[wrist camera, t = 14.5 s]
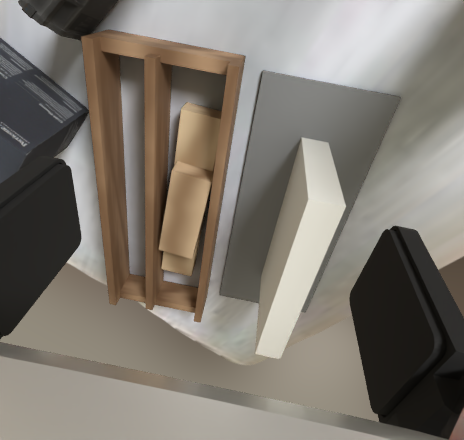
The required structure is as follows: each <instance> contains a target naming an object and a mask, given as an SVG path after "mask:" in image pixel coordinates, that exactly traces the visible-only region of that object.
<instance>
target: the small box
mask: <svg viewBox="0 0 464 440" xmlns="http://www.w3.org/2000/svg"><path fill="white" fill-rule="evenodd" d="M88 113H89V110H88V109H87V108H86V107H85V106H83V105H82V104H81V103H80V102H78V101H77V100H76V99H75V98H74V97H72V96H71V95H70V94H69V93H67V92H66V91H65V90H64V89H62V88H61V87H60V86H59V85H58V84H56V83H55V82H54V81H53V80H51V79H50V78H49V77H48V76H46V75H45V74H44V73H43V72H42V71H40V70H39V69H38V68H37V67H35V66H34V65H33V64H32V63H31V62H29V61H28V60H27V59H26V58H24V57H23V56H22V55H21V54H19V53H18V52H17V51H16V50H14V49H13V48H12V47H11V46H10V45H8V44H7V43H6V42H5V41H3V40H2V39H1V38H0V183H2V182H3V181H5V180H6V179H8V178H9V177H10V176H12V175H13V174H15V173H16V172H18V171H19V170H20V169H22V168H23V167H25V166H26V165H27V164H29V163H30V162H32V161H33V160H35V159H36V158H37V157H39V156H48V157H55V156H56V155H57V154H59V153H60V152H61V151H62V150H64V149H65V148H67V146H68V145H69V143H70V142H71V140H72V139H73V137H74V135H75V134H76V132H77V131H78V129H79V127H80V126H81V124H82V123H83V121H84V119H85V118H86V116H87V114H88Z"/></svg>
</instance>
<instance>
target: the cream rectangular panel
mask: <svg viewBox="0 0 464 440" xmlns="http://www.w3.org/2000/svg"><path fill="white" fill-rule="evenodd" d="M345 208H346V205H345V201H344V197H343V194H342V190H341V187H340V183H339V179H338V176H337V172H336V168H335V165H334V161H333V157H332V154H331V150H330V147H329V143H328V142H323V141H318V140H313V139H308V138H303V137H302V138H301V141H300V145H299V148H298V152H297V155H296V158H295V162H294V165H293V169H292V172H291V176H290V179H289V183H288V186H287V189H286V193H285V196H284V200H283V203H282V207H281V210H280V213H279V217H278V220H277V224H276V227H275V231H274V234H273V237H272V241H271V244H270V248H269V251H268V255H267V258H266V261H265V265H264V268H263V272H262V275H261V286H260V299H259V311H258V324H257V336H256V349H255V354H257V355H262V356H267V357H272V358H277V359H280V358H281V356H282V354H283V351H284V349H285V347H286V344H287V342H288V340H289V337H290V335H291V333H292V330H293V328H294V326H295V323H296V321H297V319H298V316H299V314H300V312H301V310H302V307H303V305H304V303H305V300H306V298H307V296H308V293H309V291H310V289H311V286H312V284H313V282H314V279H315V277H316V275H317V273H318V270H319V268H320V266H321V263H322V261H323V259H324V256H325V254H326V252H327V249H328V247H329V245H330V242H331V240H332V238H333V236H334V233H335V231H336V229H337V226H338V224H339V222H340V219H341V217H342V215H343V212H344V210H345Z"/></svg>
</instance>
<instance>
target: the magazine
mask: <svg viewBox="0 0 464 440" xmlns="http://www.w3.org/2000/svg"><path fill="white" fill-rule="evenodd" d="M117 1H118V0H19V1H18V3H19V5H20V6H21V7H22V10H23V11H24V12H25V13H26V14H27V15H28V16H29V17H30V18H32V19H34V20H35V21H36V22H38V23H39V24H40V25H43V26H46V27H48V28H49V29H51V30H52V31H54V32H55V33H57V34H59V35H60V36H65V37H69V38H74V39H78V40H82V39H81V36H85V35H89V34H91V33H92V32H93V30H94V29H95V28H96V27H97V25H98V24H99V23H100V22H101V21H102V19H103V18H104V17H105V16H106V14H107V13H108V12H109V11H110V9H111V8H112V7H113V6H114V4H115V3H116V2H117Z"/></svg>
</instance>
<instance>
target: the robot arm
mask: <svg viewBox="0 0 464 440" xmlns="http://www.w3.org/2000/svg"><path fill="white" fill-rule="evenodd" d="M80 242H81V230H80V224H79V217H78V211H77V204H76V198H75V192H74V185H73V179H72V172H71V168H70V167H69V166H68V165H66V163H65V162H64V160H62V159H58V158H53V157H48V156H39V157H37V158H36V159H35V160H33V161H32V162H30V163H29V164H27V165H26V166H25V167H23V168H22V169H20V170H19V171H18V172H16V173H15V174H13V175H12V176H10V177H9V178H8V179H6V180H5V181H3V182H2V183H0V339H1V337H3V336H6V335H9V334H10V333H11V332H12V331H13V329H14V328H15V327H16V326H17V325H18V323H19V322H20V321H21V319H22V318H23V317H24V316H25V314H26V313H27V312H28V310H29V309H30V308H31V307H32V305H33V304H34V303H35V302H36V300H37V299H38V298H39V297H40V295H41V294H42V293H43V291H44V290H45V289H46V288H47V286H48V285H49V284H50V283H51V281H52V280H53V279H54V277H55V276H56V275H57V274H58V272H59V271H60V270H61V268H62V267H63V266H64V265H65V263H66V262H67V261H68V260H69V258H70V257H71V256H72V254H73V253H74V252H75V251H76V249H77V248H78V247H79V245H80ZM350 306H351V311H352V316H353V321H354V326H355V331H356V336H357V341H358V345H359V351H360V355H361V360H362V365H363V370H364V375H365V379H366V385H367V390H368V395H369V400H370V405H371V408H372V410H373V412H374V413H376V414H378V418H379V422H376V421H371V420H367V419H363V418H358V417H354V416H350V415H345V414H341V413H336V412H332V411H327V410H322V409H318V408H312V407H308V406H304V405H299V404H294V403H290V402H285V401H280V400H276V399H271V398H266V397H261V396H257V395H252V394H248V393H243V392H238V391H233V390H229V389H224V388H219V387H214V386H210V385H205V384H200V383H196V382H191V381H186V380H181V379H176V378H171V377H167V376H162V375H157V374H152V373H148V372H143V371H138V370H133V369H128V368H124V367H118V366H114V365H109V364H105V363H99V362H95V361H90V360H85V359H80V358H75V357H70V356H65V355H61V354H56V353H51V352H46V351H40V350H36V349H31V348H26V347H21V346H16V345H11V344H7V343H2V342H0V440H464V318H463V316H462V314H461V312H460V310H459V308H458V306H457V305H456V303H455V301H454V299H453V297H452V295H451V293H450V291H449V290H448V288H447V286H446V284H445V282H444V280H443V278H442V277H441V275H440V273H439V271H438V269H437V267H436V265H435V263H434V262H433V260H432V258H431V256H430V254H429V252H428V250H427V249H426V247H425V245H424V243H423V241H422V239H421V237H420V235H419V234H418V232H417V231H416V230H414V229H409V228H404V227H399V226H393V227H392V228H391V229H390V230H388V229H387V230H385V231H384V232H383V233H382V235H381V237H380V239H379V241H378V243H377V244H376V246H375V248H374V250H373V252H372V254H371V255H370V257H369V259H368V261H367V263H366V265H365V266H364V268H363V270H362V272H361V274H360V276H359V278H358V279H357V281H356V283H355V285H354V287H353V289H352V291H351V293H350Z"/></svg>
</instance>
